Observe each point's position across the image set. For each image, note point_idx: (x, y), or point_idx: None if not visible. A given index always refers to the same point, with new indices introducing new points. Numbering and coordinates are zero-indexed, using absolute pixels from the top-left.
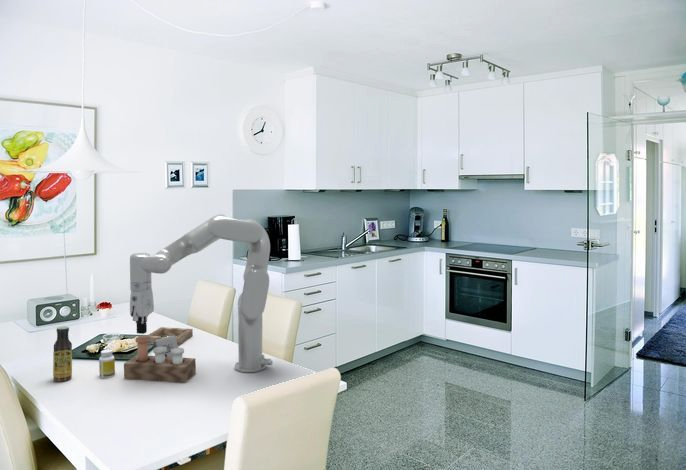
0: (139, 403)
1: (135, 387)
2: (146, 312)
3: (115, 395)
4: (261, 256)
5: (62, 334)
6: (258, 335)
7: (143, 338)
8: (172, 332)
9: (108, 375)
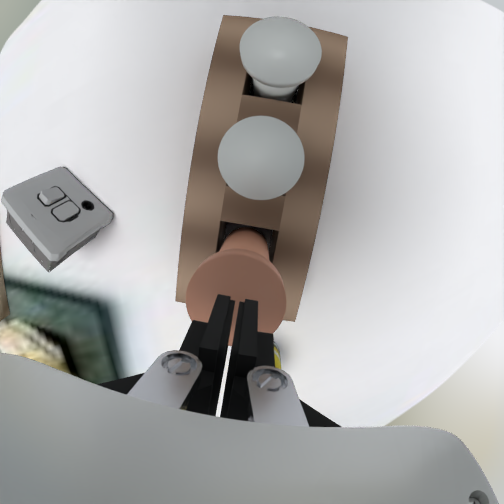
0: (471, 180)
1: (369, 226)
2: (313, 481)
3: (420, 268)
4: None
5: None
6: None
7: (249, 292)
8: None
9: (277, 348)
